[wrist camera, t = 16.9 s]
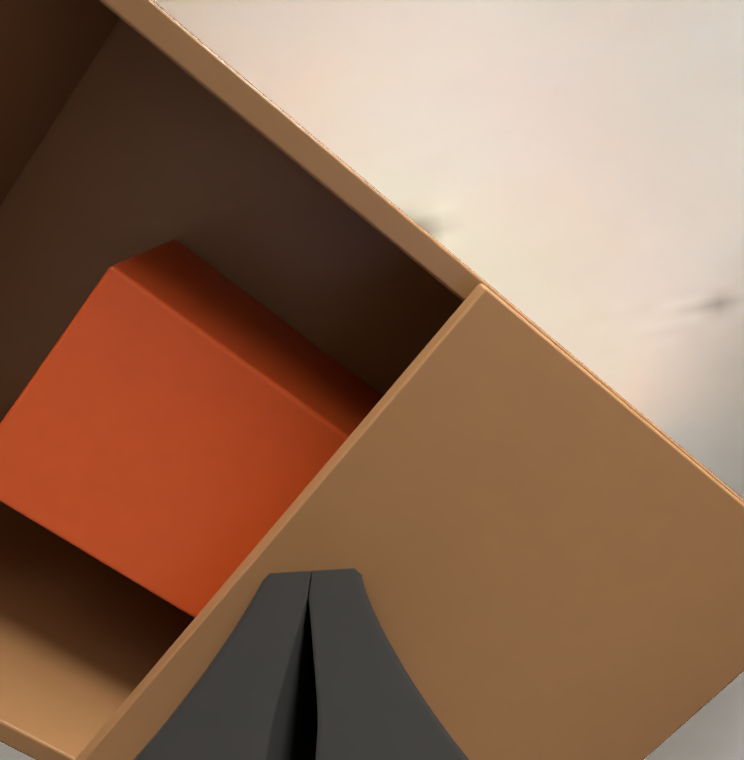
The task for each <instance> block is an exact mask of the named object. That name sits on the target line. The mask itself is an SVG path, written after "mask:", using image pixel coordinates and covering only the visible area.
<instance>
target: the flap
mask: <svg viewBox="0 0 744 760" xmlns="http://www.w3.org/2000/svg"><path fill="white" fill-rule="evenodd" d="M350 568H355V569H356V570H357V571H358V572H359V573H360V574H361V575H362V579H363V583H364V586H365V590H366V593H367V595H368V598H369V601H370V603H371V605H372V608H373V610H374V612H375V614H376V616H377V619H378V621H379V623H380V625H381V627H382V629H383V631H384V633H385V635H386V637H387V639H388V640H389V642H390V644H391V646H392V647H393V649H394V651H395V653H396V654H397V656H398V658H399V660H400V661H401V663H402V665H403V667H404V668H405V670H406V672H407V673H408V675H409V676H410V678H411V680H412V681H413V683H414V684H415V686H416V688H417V689H418V691H419V692H420V693H421V695H422V696H423V698H424V699H425V701H426V702H427V704H428V705H429V707H430V708H431V710H432V711H433V713H434V714H435V715H436V717H437V718H438V720H439V721H440V722H441V724H442V725H443V727H444V728H445V729H446V731H447V732H448V733H449V735H450V736H451V737H452V739H453V740H454V741H455V743H456V744H457V745H458V746H459V748H460V749H461V750H462V751H463V753H464V754H465V755H466V756H467V758H468V759H469V760H644V759H645V758H646V757H647V756H648V755H649V754H650V753H651V752H653V751H654V750H655V749H656V748H657V747H658V746H659V745H661V744H662V743H663V742H664V741H665V740H666V739H667V738H668V737H670V736H671V735H672V734H673V733H674V732H675V731H676V730H677V729H679V728H680V727H681V726H682V725H683V724H684V723H685V722H686V721H688V720H689V719H690V718H691V717H692V716H693V715H694V714H695V713H697V712H698V711H699V710H700V709H701V708H702V707H703V706H704V705H706V704H707V703H708V702H709V701H710V700H711V699H712V698H714V697H715V696H716V695H717V694H718V693H719V692H720V691H721V690H723V689H724V688H725V687H726V686H727V685H728V684H729V683H730V682H732V681H733V680H734V679H735V678H736V677H737V676H738V675H739V674H741V673H742V672H743V671H744V503H743V502H741V501H740V500H739V499H738V498H737V497H735V496H734V495H733V494H732V493H731V492H729V491H728V490H727V489H726V488H725V487H724V486H722V485H721V484H720V483H719V482H718V481H716V480H715V479H714V478H713V477H712V476H710V475H709V474H708V473H707V472H706V471H705V470H703V469H702V468H701V467H700V466H699V465H697V464H696V463H695V462H694V461H693V460H691V459H690V458H689V457H688V456H687V455H686V454H684V453H683V452H682V451H681V450H680V449H678V448H677V447H676V446H675V445H674V444H673V443H671V442H670V441H669V440H668V439H667V438H665V437H664V436H663V435H662V434H661V433H659V432H658V431H657V430H656V429H655V428H654V427H652V426H651V425H650V424H649V423H648V422H646V421H645V420H644V419H643V418H642V417H640V416H639V415H638V414H637V413H636V412H635V411H633V410H632V409H631V408H630V407H629V406H627V405H626V404H625V403H624V402H623V401H621V400H620V399H619V398H618V397H617V396H616V395H614V394H613V393H612V392H611V391H610V390H608V389H607V388H606V387H605V386H604V385H602V384H601V383H600V382H599V381H598V380H597V379H595V378H594V377H593V376H592V375H591V374H589V373H588V372H587V371H586V370H585V369H583V368H582V367H581V366H580V365H579V364H578V363H576V362H575V361H574V360H573V359H572V358H570V357H569V356H568V355H567V354H566V353H564V352H563V351H562V350H561V349H560V348H559V347H557V346H556V345H555V344H554V343H553V342H551V341H550V340H549V339H548V338H547V337H545V336H544V335H543V334H542V333H541V332H540V331H538V330H537V329H536V328H535V327H534V326H532V325H531V324H530V323H529V322H528V321H526V320H525V319H524V318H523V317H522V316H521V315H519V314H518V313H517V312H516V311H515V310H513V309H512V308H511V307H510V306H509V305H507V304H506V303H505V302H504V301H503V300H502V299H500V298H499V297H498V296H497V295H496V294H494V293H493V292H492V291H491V290H490V289H488V288H487V287H486V286H485V285H483V284H478V285H477V286H476V288H475V289H474V290H473V291H472V292H471V293H470V295H469V296H468V297H467V298H466V299H465V301H464V302H463V303H462V304H461V305H460V306H459V308H458V309H457V310H456V311H455V312H454V313H453V315H452V316H451V317H450V318H449V319H448V321H447V322H446V323H445V324H444V325H443V326H442V328H441V329H440V330H439V331H438V332H437V334H436V335H435V336H434V337H433V338H432V339H431V341H430V342H429V343H428V344H427V345H426V346H425V348H424V349H423V350H422V351H421V352H420V354H419V355H418V356H417V357H416V358H415V359H414V361H413V362H412V363H411V364H410V365H409V367H408V368H407V369H406V370H405V371H404V372H403V374H402V375H401V376H400V377H399V378H398V379H397V381H396V382H395V383H394V384H393V385H392V387H391V388H390V389H389V390H388V391H387V392H386V394H385V395H384V396H383V397H382V398H381V400H380V401H379V402H378V403H377V404H376V405H375V407H374V408H373V409H372V410H371V411H370V412H369V414H368V415H367V416H366V417H365V418H364V420H363V421H362V422H361V423H360V424H359V425H358V427H357V428H356V429H355V430H354V431H353V432H352V434H351V435H350V436H349V437H348V438H347V440H346V441H345V442H344V443H343V444H342V445H341V447H340V448H339V449H338V450H337V451H336V453H335V454H334V455H333V456H332V457H331V458H330V460H329V461H328V462H327V463H326V464H325V465H324V467H323V468H322V469H321V470H320V471H319V473H318V474H317V475H316V476H315V477H314V478H313V480H312V481H311V482H310V483H309V484H308V486H307V487H306V488H305V489H304V490H303V491H302V493H301V494H300V495H299V496H298V497H297V498H296V500H295V501H294V502H293V503H292V504H291V506H290V507H289V508H288V509H287V510H286V511H285V513H284V514H283V515H282V516H281V517H280V519H279V520H278V521H277V522H276V523H275V524H274V526H273V527H272V528H271V529H270V530H269V531H268V533H267V534H266V535H265V536H264V537H263V539H262V540H261V541H260V542H259V543H258V544H257V546H256V547H255V548H254V549H253V550H252V551H251V553H250V554H249V555H248V556H247V557H246V559H245V560H244V561H243V562H242V563H241V564H240V566H239V567H238V568H237V569H236V570H235V572H234V573H233V574H232V575H231V576H230V577H229V579H228V580H227V581H226V582H225V583H224V584H223V586H222V587H221V588H220V589H219V590H218V592H217V593H216V594H215V595H214V596H213V597H212V599H211V600H210V601H209V602H208V603H207V605H206V606H205V607H204V608H203V609H202V610H201V612H200V613H199V614H198V615H197V616H196V617H195V619H194V620H193V621H192V622H191V623H190V625H189V626H188V627H187V628H186V629H185V630H184V632H183V633H182V634H181V635H180V636H179V638H178V639H177V640H176V641H175V642H174V643H173V645H172V646H171V647H170V648H169V649H168V650H167V652H166V653H165V654H164V655H163V656H162V658H161V659H160V660H159V661H158V662H157V663H156V665H155V666H154V667H153V668H152V669H151V670H150V672H149V673H148V674H147V675H146V676H145V678H144V679H143V680H142V681H141V682H140V683H139V685H138V686H137V687H136V688H135V689H134V691H133V692H132V693H131V694H130V695H129V696H128V698H127V699H126V700H125V701H124V702H123V703H122V705H121V706H120V707H119V708H118V709H117V711H116V712H115V713H114V714H113V715H112V716H111V718H110V719H109V720H108V721H107V722H106V724H105V725H104V726H103V727H102V728H101V729H100V731H99V732H98V733H97V734H96V735H95V736H94V738H93V739H92V740H91V741H90V742H89V744H88V745H87V746H86V747H85V748H84V749H83V751H82V752H81V753H80V754H79V755H78V757H77V758H76V759H75V760H134V759H135V757H136V756H137V755H138V754H139V753H140V752H141V751H142V750H143V748H144V747H145V746H146V745H147V744H148V743H149V741H150V740H151V739H152V738H153V737H154V736H155V734H156V733H157V732H158V731H159V730H160V728H161V727H162V726H163V725H164V724H165V722H166V721H167V720H168V718H169V717H170V716H171V715H172V713H173V712H174V711H175V710H176V708H177V707H178V706H179V704H180V703H181V702H182V701H183V699H184V698H185V697H186V695H187V694H188V693H189V692H190V690H191V689H192V688H193V686H194V685H195V684H196V683H197V681H198V680H199V679H200V677H201V676H202V675H203V673H204V672H205V670H206V669H207V668H208V666H209V665H210V663H211V662H212V660H213V659H214V657H215V656H216V655H217V653H218V652H219V650H220V649H221V647H222V646H223V644H224V643H225V642H226V640H227V639H228V637H229V636H230V634H231V633H232V631H233V630H234V628H235V626H236V625H237V623H238V622H239V620H240V619H241V617H242V615H243V614H244V612H245V611H246V609H247V607H248V606H249V604H250V602H251V601H252V599H253V597H254V595H255V594H256V592H257V590H258V588H259V586H260V585H261V583H262V581H263V580H264V579H265V578H266V577H267V576H268V575H269V574H270V573H283V572H300V571H311V576H312V572H313V571H317V570H333V569H350Z"/></svg>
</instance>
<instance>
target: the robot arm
mask: <svg viewBox="0 0 744 760" xmlns="http://www.w3.org/2000/svg"><path fill="white" fill-rule="evenodd" d="M134 760H469V759H468V758H467V756H466V755H465V754H464V753H463V751H462V750H461V749H460V748H459V746H458V745H457V744H456V743H455V741H454V740H453V739H452V737H451V736H450V735H449V733H448V732H447V731H446V729H445V728H444V727H443V725H442V724H441V722H440V721H439V720H438V718H437V717H436V715H435V714H434V713H433V711H432V710H431V708H430V707H429V705H428V704H427V702H426V701H425V699H424V698H423V696H422V695H421V693H420V692H419V691H418V689H417V688H416V686H415V684H414V683H413V681H412V680H411V678H410V676H409V675H408V673H407V672H406V670H405V668H404V667H403V665H402V663H401V661H400V660H399V658H398V656H397V654H396V653H395V651H394V649H393V647H392V646H391V644H390V642H389V640H388V639H387V637H386V635H385V633H384V631H383V629H382V627H381V625H380V623H379V621H378V619H377V616H376V614H375V612H374V610H373V608H372V605H371V603H370V601H369V598H368V595H367V593H366V590H365V586H364V583H363V579H362V575H361V574H360V573H359V572H358V571H357V570H356V569H355V568H350V569H333V570H317V571H313V572H312V576H311V571H300V572H283V573H270V574H269V575H268V576H267V577H266V578H265V579H264V580H263V581H262V583H261V585H260V586H259V588H258V590H257V592H256V594H255V595H254V597H253V599H252V601H251V602H250V604H249V606H248V607H247V609H246V611H245V612H244V614H243V615H242V617H241V619H240V620H239V622H238V623H237V625H236V626H235V628H234V630H233V631H232V633H231V634H230V636H229V637H228V639H227V640H226V642H225V643H224V644H223V646H222V647H221V649H220V650H219V652H218V653H217V655H216V656H215V657H214V659H213V660H212V662H211V663H210V665H209V666H208V668H207V669H206V670H205V672H204V673H203V675H202V676H201V677H200V679H199V680H198V681H197V683H196V684H195V685H194V686H193V688H192V689H191V690H190V692H189V693H188V694H187V695H186V697H185V698H184V699H183V701H182V702H181V703H180V704H179V706H178V707H177V708H176V710H175V711H174V712H173V713H172V715H171V716H170V717H169V718H168V720H167V721H166V722H165V724H164V725H163V726H162V727H161V728H160V730H159V731H158V732H157V733H156V734H155V736H154V737H153V738H152V739H151V740H150V741H149V743H148V744H147V745H146V746H145V747H144V748H143V750H142V751H141V752H140V753H139V754H138V755H137V756H136V757H135V759H134Z"/></svg>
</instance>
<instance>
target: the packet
mask: <svg viewBox="0 0 744 760" xmlns="http://www.w3.org/2000/svg"><path fill="white" fill-rule="evenodd" d="M382 397H383V396H382V395H381V394H379V393H378V392H377V391H376V390H374V389H373V388H372V387H370V386H369V385H368V384H366V383H365V382H364V381H362V380H361V379H360V378H358V377H357V376H356V375H354V374H353V373H352V372H350V371H349V370H348V369H346V368H345V367H344V366H342V365H341V364H340V363H338V362H337V361H336V360H334V359H333V358H332V357H330V356H329V355H328V354H326V353H325V352H324V351H322V350H321V349H320V348H318V347H317V346H316V345H314V344H313V343H312V342H311V341H309V340H308V339H307V338H305V337H304V336H303V335H301V334H300V333H299V332H297V331H296V330H295V329H293V328H292V327H291V326H289V325H288V324H287V323H285V322H284V321H283V320H281V319H280V318H279V317H277V316H276V315H275V314H273V313H272V312H271V311H269V310H268V309H267V308H265V307H264V306H263V305H261V304H260V303H259V302H257V301H256V300H255V299H253V298H252V297H251V296H249V295H248V294H247V293H246V292H244V291H243V290H242V289H240V288H239V287H238V286H236V285H235V284H234V283H232V282H231V281H230V280H228V279H227V278H226V277H224V276H223V275H222V274H220V273H219V272H218V271H216V270H215V269H214V268H212V267H211V266H210V265H208V264H207V263H206V262H204V261H203V260H202V259H200V258H199V257H198V256H196V255H195V254H194V253H192V252H191V251H190V250H188V249H187V248H186V247H184V246H183V245H182V244H181V243H179V242H178V241H177V240H171V241H168V242H166V243H164V244H161V245H159V246H157V247H154V248H152V249H150V250H147V251H145V252H143V253H141V254H138V255H136V256H134V257H131V258H129V259H127V260H124V261H122V262H120V263H117V264H115V265H113V266H111V267H109V268H108V270H107V271H106V273H105V274H104V275H103V277H102V278H101V280H100V281H99V283H98V284H97V285H96V287H95V288H94V290H93V291H92V293H91V294H90V295H89V297H88V298H87V300H86V301H85V303H84V304H83V306H82V307H81V308H80V310H79V311H78V313H77V314H76V316H75V317H74V318H73V320H72V321H71V323H70V324H69V326H68V327H67V328H66V330H65V331H64V333H63V334H62V336H61V337H60V338H59V340H58V341H57V343H56V344H55V346H54V347H53V349H52V350H51V351H50V353H49V354H48V356H47V357H46V359H45V360H44V361H43V363H42V364H41V366H40V367H39V369H38V370H37V371H36V373H35V374H34V376H33V377H32V379H31V380H30V382H29V383H28V384H27V386H26V387H25V389H24V390H23V392H22V393H21V394H20V396H19V397H18V399H17V400H16V402H15V403H14V404H13V406H12V407H11V409H10V410H9V412H8V413H7V415H6V416H5V417H4V419H3V420H2V422H1V423H0V501H1V502H3V503H4V504H6V505H8V506H9V507H11V508H13V509H14V510H16V511H18V512H19V513H21V514H23V515H24V516H26V517H28V518H29V519H31V520H33V521H34V522H36V523H38V524H39V525H41V526H43V527H44V528H46V529H48V530H49V531H51V532H53V533H54V534H56V535H58V536H59V537H61V538H63V539H64V540H66V541H68V542H69V543H71V544H73V545H74V546H76V547H77V548H79V549H81V550H82V551H84V552H86V553H87V554H89V555H91V556H92V557H94V558H96V559H97V560H99V561H101V562H102V563H104V564H106V565H107V566H109V567H111V568H112V569H114V570H116V571H117V572H119V573H121V574H122V575H124V576H126V577H127V578H129V579H131V580H132V581H134V582H136V583H137V584H139V585H141V586H142V587H144V588H146V589H147V590H149V591H151V592H152V593H154V594H155V595H157V596H159V597H160V598H162V599H164V600H165V601H167V602H169V603H170V604H172V605H174V606H175V607H177V608H179V609H180V610H182V611H184V612H185V613H187V614H189V615H190V616H192V617H194V618H195V617H196V616H197V615H198V614H199V613H200V612H201V610H202V609H203V608H204V607H205V606H206V605H207V603H208V602H209V601H210V600H211V599H212V597H213V596H214V595H215V594H216V593H217V592H218V590H219V589H220V588H221V587H222V586H223V584H224V583H225V582H226V581H227V580H228V579H229V577H230V576H231V575H232V574H233V573H234V572H235V570H236V569H237V568H238V567H239V566H240V564H241V563H242V562H243V561H244V560H245V559H246V557H247V556H248V555H249V554H250V553H251V551H252V550H253V549H254V548H255V547H256V546H257V544H258V543H259V542H260V541H261V540H262V539H263V537H264V536H265V535H266V534H267V533H268V531H269V530H270V529H271V528H272V527H273V526H274V524H275V523H276V522H277V521H278V520H279V519H280V517H281V516H282V515H283V514H284V513H285V511H286V510H287V509H288V508H289V507H290V506H291V504H292V503H293V502H294V501H295V500H296V498H297V497H298V496H299V495H300V494H301V493H302V491H303V490H304V489H305V488H306V487H307V486H308V484H309V483H310V482H311V481H312V480H313V478H314V477H315V476H316V475H317V474H318V473H319V471H320V470H321V469H322V468H323V467H324V465H325V464H326V463H327V462H328V461H329V460H330V458H331V457H332V456H333V455H334V454H335V453H336V451H337V450H338V449H339V448H340V447H341V445H342V444H343V443H344V442H345V441H346V440H347V438H348V437H349V436H350V435H351V434H352V432H353V431H354V430H355V429H356V428H357V427H358V425H359V424H360V423H361V422H362V421H363V420H364V418H365V417H366V416H367V415H368V414H369V412H370V411H371V410H372V409H373V408H374V407H375V405H376V404H377V403H378V402H379V401H380V400H381V398H382Z"/></svg>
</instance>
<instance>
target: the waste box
mask: <svg viewBox="0 0 744 760" xmlns="http://www.w3.org/2000/svg"><path fill="white" fill-rule="evenodd" d="M171 240H177V241H178V242H179V243H181V244H182V245H183V246H184V247H186V248H187V249H188V250H190V251H191V252H192V253H194V254H195V255H196V256H198V257H199V258H200V259H202V260H203V261H204V262H206V263H207V264H208V265H210V266H211V267H212V268H214V269H215V270H216V271H218V272H219V273H220V274H222V275H223V276H224V277H226V278H227V279H228V280H230V281H231V282H232V283H234V284H235V285H236V286H238V287H239V288H240V289H242V290H243V291H244V292H246V293H247V294H248V295H249V296H251V297H252V298H253V299H255V300H256V301H257V302H259V303H260V304H261V305H263V306H264V307H265V308H267V309H268V310H269V311H271V312H272V313H273V314H275V315H276V316H277V317H279V318H280V319H281V320H283V321H284V322H285V323H287V324H288V325H289V326H291V327H292V328H293V329H295V330H296V331H297V332H299V333H300V334H301V335H303V336H304V337H305V338H307V339H308V340H309V341H311V342H312V343H313V344H314V345H316V346H317V347H318V348H320V349H321V350H322V351H324V352H325V353H326V354H328V355H329V356H330V357H332V358H333V359H334V360H336V361H337V362H338V363H340V364H341V365H342V366H344V367H345V368H346V369H348V370H349V371H350V372H352V373H353V374H354V375H356V376H357V377H358V378H360V379H361V380H362V381H364V382H365V383H366V384H368V385H369V386H370V387H372V388H373V389H374V390H376V391H377V392H378V393H379V394H381V395H382V396H384V395H385V394H386V392H387V391H388V390H389V389H390V388H391V387H392V385H393V384H394V383H395V382H396V381H397V379H398V378H399V377H400V376H401V375H402V374H403V372H404V371H405V370H406V369H407V368H408V367H409V365H410V364H411V363H412V362H413V361H414V359H415V358H416V357H417V356H418V355H419V354H420V352H421V351H422V350H423V349H424V348H425V346H426V345H427V344H428V343H429V342H430V341H431V339H432V338H433V337H434V336H435V335H436V334H437V332H438V331H439V330H440V329H441V328H442V326H443V325H444V324H445V323H446V322H447V321H448V319H449V318H450V317H451V316H452V315H453V313H454V312H455V311H456V310H457V309H458V308H459V306H460V305H461V304H462V303H463V302H464V301H465V299H466V298H467V297H468V296H469V295H470V293H471V292H472V291H473V290H474V289H475V288H476V286H477V285H478V284H483V285H485V286H486V287H487V288H488V289H490V290H491V291H492V292H493V293H494V294H496V295H497V296H498V297H499V298H500V299H502V300H503V301H504V302H505V303H506V304H507V305H509V306H510V307H511V308H512V309H513V310H515V311H516V312H517V313H518V314H519V315H521V316H522V317H523V318H524V319H525V320H526V321H528V322H529V323H530V324H531V325H532V326H534V327H535V328H536V329H537V330H538V331H540V332H541V333H542V334H543V335H544V336H545V337H547V338H548V339H549V340H550V341H551V342H553V343H554V344H555V345H556V346H557V347H559V348H560V349H561V350H562V351H563V352H564V353H566V354H567V355H568V356H569V357H570V358H572V359H573V360H574V361H575V362H576V363H578V364H579V365H580V366H581V367H582V368H583V369H585V370H586V371H587V372H588V373H589V374H591V375H592V376H593V377H594V378H595V379H597V380H598V381H599V382H600V383H601V384H602V385H604V386H605V387H606V388H607V389H608V390H610V391H611V392H612V393H613V394H614V395H616V396H617V397H618V398H619V399H620V400H621V401H623V402H624V403H625V404H626V405H627V406H629V407H630V408H631V409H632V410H633V411H635V412H636V413H637V414H638V415H639V416H640V417H642V418H643V419H644V420H645V421H646V422H648V423H649V424H650V425H651V426H652V427H654V428H655V429H656V430H657V431H658V432H659V433H661V434H662V435H663V436H664V437H665V438H667V439H668V440H669V441H670V442H671V443H673V444H674V445H675V446H676V447H677V448H678V449H680V450H681V451H682V452H683V453H684V454H686V455H687V456H688V457H689V458H690V459H691V460H693V461H694V462H695V463H696V464H697V465H699V466H700V467H701V468H702V469H703V470H705V471H706V472H707V473H708V474H709V475H710V476H712V477H713V478H714V479H715V480H716V481H718V482H719V483H720V484H721V485H722V486H724V487H725V488H726V489H727V490H728V491H729V492H731V493H732V494H733V495H734V496H735V497H737V498H738V499H739V500H740V501H741V502H743V503H744V500H743V499H742V498H741V497H740V496H739V495H737V494H736V493H735V492H734V491H733V490H731V489H730V488H729V487H728V486H727V485H725V484H724V483H723V482H722V481H721V480H720V479H718V478H717V477H716V476H715V475H714V474H712V473H711V472H710V471H709V470H708V469H707V468H705V467H704V466H703V465H702V464H701V463H699V462H698V461H697V460H696V459H695V458H694V457H692V456H691V455H690V454H689V453H688V452H686V451H685V450H684V449H683V448H682V447H680V446H679V445H678V444H677V443H676V442H675V441H673V440H672V439H671V438H670V437H669V436H667V435H666V434H665V433H664V432H663V431H662V430H660V429H659V428H658V427H657V426H656V425H654V424H653V423H652V422H651V421H650V420H649V419H647V418H646V417H645V416H644V415H643V414H641V413H640V412H639V411H638V410H637V409H635V408H634V407H633V406H632V405H631V404H630V403H628V402H627V401H626V400H625V399H624V398H622V397H621V396H620V395H619V394H618V393H617V392H615V391H614V390H613V389H612V388H611V387H609V386H608V385H607V384H606V383H605V382H604V381H602V380H601V379H600V378H599V377H598V376H596V375H595V374H594V373H593V372H592V371H590V370H589V369H588V368H587V367H586V366H585V365H583V364H582V363H581V362H580V361H579V360H577V359H576V358H575V357H574V356H573V355H572V354H570V353H569V352H568V351H567V350H566V349H564V348H563V347H562V346H561V345H560V344H559V343H557V342H556V341H555V340H554V339H553V338H551V337H550V336H549V335H548V334H547V333H545V332H544V331H543V330H542V329H541V328H540V327H538V326H537V325H536V324H535V323H534V322H532V321H531V320H530V319H529V318H528V317H527V316H525V315H524V314H523V313H522V312H521V311H519V310H518V309H517V308H516V307H515V306H514V305H512V304H511V303H510V302H509V301H508V300H506V299H505V298H504V297H503V296H502V295H500V294H499V293H498V292H497V291H496V290H495V289H493V288H492V287H491V286H490V285H489V284H487V283H486V282H485V281H484V280H483V279H482V278H480V277H479V276H478V275H477V274H476V273H474V272H473V271H472V270H471V269H470V268H469V267H467V266H466V265H465V264H464V263H463V262H461V261H460V260H459V259H458V258H457V257H455V256H454V255H453V254H452V253H451V252H450V251H448V250H447V249H446V248H445V247H444V246H442V245H441V244H440V243H439V242H438V241H437V240H435V239H434V238H433V237H432V236H431V235H429V234H428V233H427V232H426V231H425V230H424V229H422V228H421V227H420V226H419V225H418V224H416V223H415V222H414V221H413V220H412V219H410V218H409V217H408V216H407V215H406V214H405V213H403V212H402V211H401V210H400V209H399V208H397V207H396V206H395V205H394V204H393V203H392V202H390V201H389V200H388V199H387V198H386V197H384V196H383V195H382V194H381V193H380V192H379V191H377V190H376V189H375V188H374V187H373V186H371V185H370V184H369V183H368V182H367V181H365V180H364V179H363V178H362V177H361V176H360V175H358V174H357V173H356V172H355V171H354V170H352V169H351V168H350V167H349V166H348V165H347V164H345V163H344V162H343V161H342V160H341V159H339V158H338V157H337V156H336V155H335V154H334V153H332V152H331V151H330V150H329V149H328V148H326V147H325V146H324V145H323V144H322V143H320V142H319V141H318V140H317V139H316V138H315V137H313V136H312V135H311V134H310V133H309V132H307V131H306V130H305V129H304V128H303V127H302V126H300V125H299V124H298V123H297V122H296V121H294V120H293V119H292V118H291V117H290V116H289V115H287V114H286V113H285V112H284V111H283V110H281V109H280V108H279V107H278V106H277V105H275V104H274V103H273V102H272V101H271V100H270V99H268V98H267V97H266V96H265V95H264V94H262V93H261V92H260V91H259V90H258V89H257V88H255V87H254V86H253V85H252V84H251V83H249V82H248V81H247V80H246V79H245V78H244V77H242V76H241V75H240V74H239V73H238V72H236V71H235V70H234V69H233V68H232V67H231V66H229V65H228V64H227V63H226V62H225V61H223V60H222V59H221V58H220V57H219V56H217V55H216V54H215V53H214V52H213V51H212V50H210V49H209V48H208V47H207V46H206V45H204V44H203V43H202V42H201V41H200V40H199V39H197V38H196V37H195V36H194V35H193V34H191V33H190V32H189V31H188V30H187V29H186V28H184V27H183V26H182V25H181V24H180V23H178V22H177V21H176V20H175V19H174V18H172V17H171V16H170V15H169V14H168V13H167V12H165V11H164V10H163V9H162V8H161V7H159V6H158V5H157V4H156V3H155V2H154V1H152V0H0V423H1V422H2V420H3V419H4V417H5V416H6V415H7V413H8V412H9V410H10V409H11V407H12V406H13V404H14V403H15V402H16V400H17V399H18V397H19V396H20V394H21V393H22V392H23V390H24V389H25V387H26V386H27V384H28V383H29V382H30V380H31V379H32V377H33V376H34V374H35V373H36V371H37V370H38V369H39V367H40V366H41V364H42V363H43V361H44V360H45V359H46V357H47V356H48V354H49V353H50V351H51V350H52V349H53V347H54V346H55V344H56V343H57V341H58V340H59V338H60V337H61V336H62V334H63V333H64V331H65V330H66V328H67V327H68V326H69V324H70V323H71V321H72V320H73V318H74V317H75V316H76V314H77V313H78V311H79V310H80V308H81V307H82V306H83V304H84V303H85V301H86V300H87V298H88V297H89V295H90V294H91V293H92V291H93V290H94V288H95V287H96V285H97V284H98V283H99V281H100V280H101V278H102V277H103V275H104V274H105V273H106V271H107V270H108V268H109V267H111V266H113V265H115V264H117V263H120V262H122V261H124V260H127V259H129V258H131V257H134V256H136V255H138V254H141V253H143V252H145V251H147V250H150V249H152V248H154V247H157V246H159V245H161V244H164V243H166V242H168V241H171ZM194 619H195V618H194V617H192V616H190V615H189V614H187V613H185V612H184V611H182V610H180V609H179V608H177V607H175V606H174V605H172V604H170V603H169V602H167V601H165V600H164V599H162V598H160V597H159V596H157V595H155V594H154V593H152V592H151V591H149V590H147V589H146V588H144V587H142V586H141V585H139V584H137V583H136V582H134V581H132V580H131V579H129V578H127V577H126V576H124V575H122V574H121V573H119V572H117V571H116V570H114V569H112V568H111V567H109V566H107V565H106V564H104V563H102V562H101V561H99V560H97V559H96V558H94V557H92V556H91V555H89V554H87V553H86V552H84V551H82V550H81V549H79V548H77V547H76V546H74V545H73V544H71V543H69V542H68V541H66V540H64V539H63V538H61V537H59V536H58V535H56V534H54V533H53V532H51V531H49V530H48V529H46V528H44V527H43V526H41V525H39V524H38V523H36V522H34V521H33V520H31V519H29V518H28V517H26V516H24V515H23V514H21V513H19V512H18V511H16V510H14V509H13V508H11V507H9V506H8V505H6V504H4V503H3V502H1V501H0V741H1V742H3V743H5V744H6V745H8V746H10V747H12V748H14V749H16V750H18V751H20V752H22V753H24V754H26V755H28V756H30V757H32V758H34V759H36V760H75V759H76V758H77V757H78V755H79V754H80V753H81V752H82V751H83V749H84V748H85V747H86V746H87V745H88V744H89V742H90V741H91V740H92V739H93V738H94V736H95V735H96V734H97V733H98V732H99V731H100V729H101V728H102V727H103V726H104V725H105V724H106V722H107V721H108V720H109V719H110V718H111V716H112V715H113V714H114V713H115V712H116V711H117V709H118V708H119V707H120V706H121V705H122V703H123V702H124V701H125V700H126V699H127V698H128V696H129V695H130V694H131V693H132V692H133V691H134V689H135V688H136V687H137V686H138V685H139V683H140V682H141V681H142V680H143V679H144V678H145V676H146V675H147V674H148V673H149V672H150V670H151V669H152V668H153V667H154V666H155V665H156V663H157V662H158V661H159V660H160V659H161V658H162V656H163V655H164V654H165V653H166V652H167V650H168V649H169V648H170V647H171V646H172V645H173V643H174V642H175V641H176V640H177V639H178V638H179V636H180V635H181V634H182V633H183V632H184V630H185V629H186V628H187V627H188V626H189V625H190V623H191V622H192V621H193V620H194Z"/></svg>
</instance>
